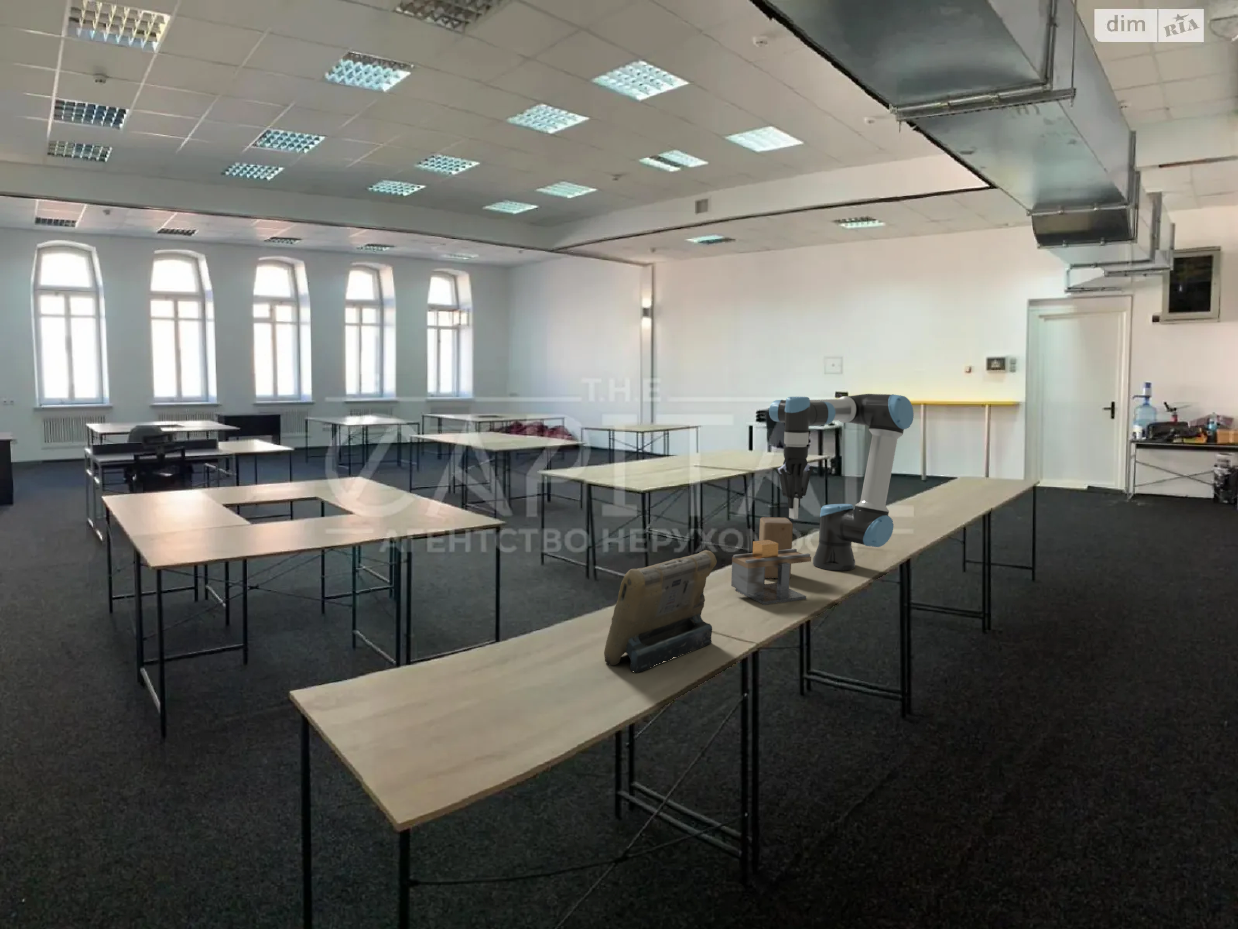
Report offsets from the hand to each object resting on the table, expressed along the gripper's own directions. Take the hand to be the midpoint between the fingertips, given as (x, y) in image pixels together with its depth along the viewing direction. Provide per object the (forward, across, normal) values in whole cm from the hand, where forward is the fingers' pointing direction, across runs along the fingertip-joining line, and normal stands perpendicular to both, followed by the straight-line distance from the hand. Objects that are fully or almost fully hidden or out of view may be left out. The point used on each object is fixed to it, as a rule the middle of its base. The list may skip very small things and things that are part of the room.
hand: (793, 518), depth 244 cm
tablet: (+24, +64, +31) cm, 75 cm away
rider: (+12, +11, 0) cm, 16 cm away
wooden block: (+25, -7, -19) cm, 32 cm away
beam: (+22, +8, 0) cm, 23 cm away
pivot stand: (+25, +8, 0) cm, 26 cm away
